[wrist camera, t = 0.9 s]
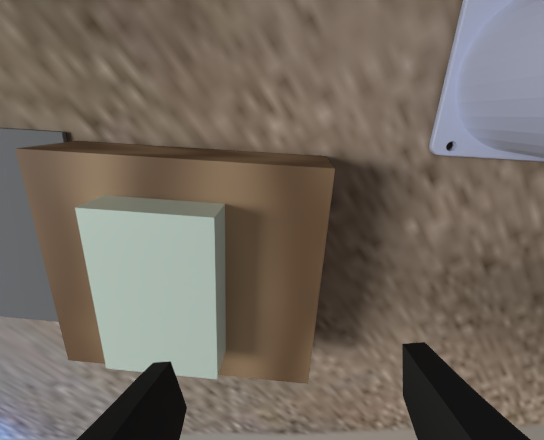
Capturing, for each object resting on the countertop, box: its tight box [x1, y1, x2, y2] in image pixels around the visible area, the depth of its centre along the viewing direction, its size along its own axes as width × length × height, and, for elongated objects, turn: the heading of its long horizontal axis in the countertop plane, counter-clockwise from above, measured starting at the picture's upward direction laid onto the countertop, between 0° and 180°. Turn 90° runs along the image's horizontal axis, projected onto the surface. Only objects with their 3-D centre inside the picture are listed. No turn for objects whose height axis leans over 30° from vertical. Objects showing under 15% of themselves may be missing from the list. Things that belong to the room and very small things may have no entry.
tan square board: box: [15, 141, 335, 384], centre depth 17 cm, size 15×13×4 cm
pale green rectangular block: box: [75, 195, 226, 379], centre depth 15 cm, size 6×9×2 cm, turn 177°
